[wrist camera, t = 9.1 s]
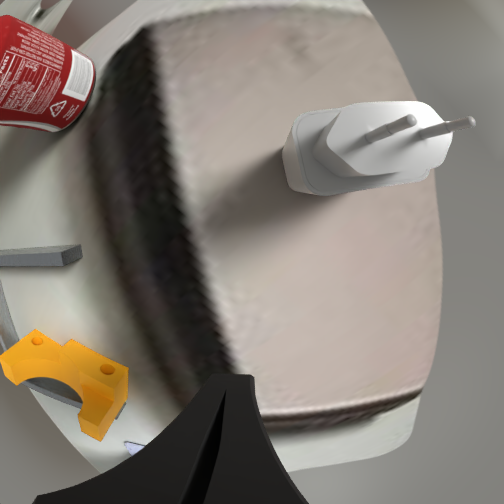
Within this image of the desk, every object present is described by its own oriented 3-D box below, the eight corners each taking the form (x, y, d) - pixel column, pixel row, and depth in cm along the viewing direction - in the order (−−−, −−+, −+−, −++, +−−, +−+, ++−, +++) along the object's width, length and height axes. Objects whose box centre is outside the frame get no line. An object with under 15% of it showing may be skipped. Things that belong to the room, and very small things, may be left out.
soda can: (112, 53, 14) (9, -11, 2) (87, 133, 16) (-47, 114, 4) (56, 63, 14) (-37, 29, 2) (35, 133, 16) (-73, 127, 4)
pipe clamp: (129, 367, 20) (96, 414, 14) (128, 396, 21) (100, 441, 15) (35, 314, 20) (-5, 342, 14) (39, 346, 21) (4, 375, 15)
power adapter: (279, 145, 15) (305, 51, 4) (361, 133, 15) (494, 70, 3) (289, 194, 16) (345, 213, 4) (371, 180, 16) (521, 184, 4)
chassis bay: (126, 403, 21) (116, 419, 19) (29, 372, 22) (19, 382, 20) (80, 244, 18) (60, 252, 15) (-10, 251, 19) (-25, 256, 16)
